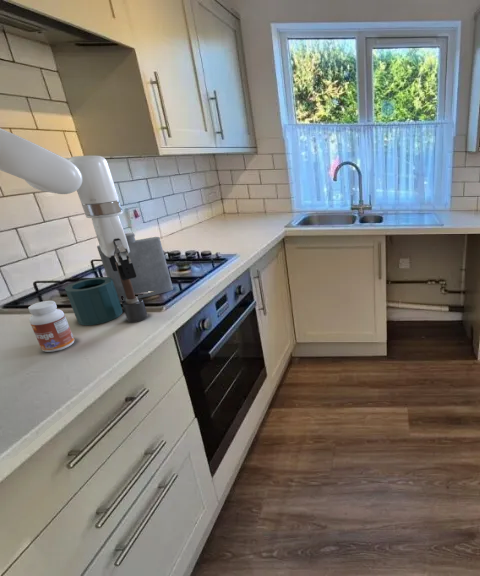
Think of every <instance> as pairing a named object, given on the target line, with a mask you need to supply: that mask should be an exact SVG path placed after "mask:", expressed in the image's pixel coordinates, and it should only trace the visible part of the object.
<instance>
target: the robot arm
mask: <svg viewBox="0 0 480 576" xmlns="http://www.w3.org/2000/svg"><path fill="white" fill-rule="evenodd" d="M0 171H1V172H4V173H6V174H9V175H12V176H15V177H17V178H19V179H21V180H24V181H25V182H26V183H27V185H29V186H30V187H32V188H34V189H36V190H39V191H41V192H45V193H51V194H58V195H68V194H72V193H75V192H77V195H78V198H79V201H80V203H81V207H82V209H83V213H84V215H85V218H87V219H91V221H92V222H91V223H92V225H93V229H94V232H95V235H96V238H97V241H98V246H99V245H100V249H101V251H102V252H103V253H104V254H105V255H106V256H107V257H109V260H110V263H111V266H112V269H113V271H119V273H120V276H121V279H122V280H127V279H131V278H135V277H136V273H135V270H134V267H133V264H132V262H131V260H130V257H129V255H128V253H129V252H130V250H129V246H128V242H127V239H126V236H125V234H126V233H125V230H124V227H123V223H122V221H121V218H120V216H119V215H123V214H124V211H123V208H122V204H121V200H120V199H119V195H118V192H117V189H116V185H115V182H114V179H113V175H112V172H111V170H110V166H109V164H108V161H107V159H106V158H105V157H104V156H101V155H75V156H71V157H63V156H61V155H59V154H57V153H56V152H53V151H51V150H49V149H47V148H46V147H43V146H41V145H39V144H36V143H35V142H32V141H31V140H29V139H26V138H23V137H22V136H19V135H17V134H15V133H12V132H10V131H7V130H5V129H3V128H1V127H0ZM111 256H112V257H111ZM115 262H117V263H118V265H117V267H116V264H115ZM117 268H118V270H117Z"/></svg>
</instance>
